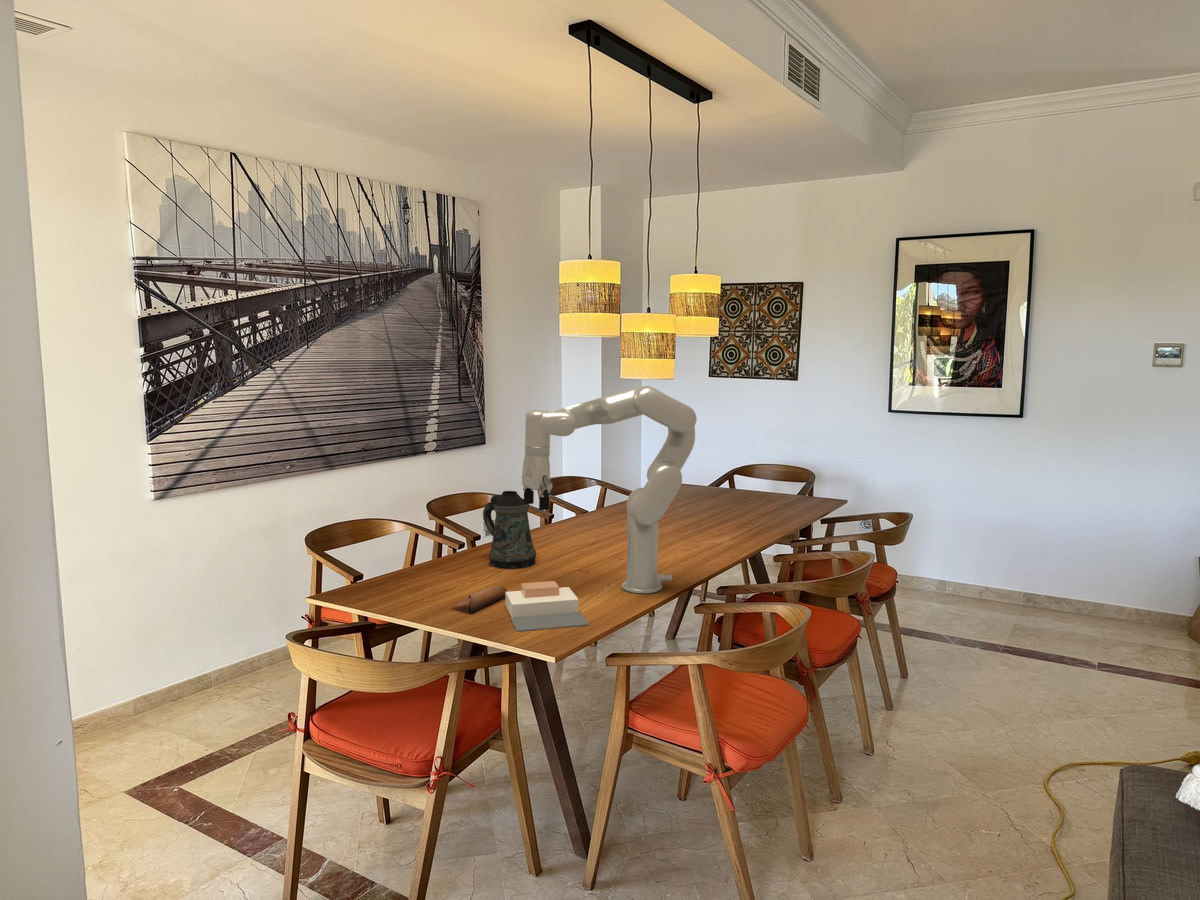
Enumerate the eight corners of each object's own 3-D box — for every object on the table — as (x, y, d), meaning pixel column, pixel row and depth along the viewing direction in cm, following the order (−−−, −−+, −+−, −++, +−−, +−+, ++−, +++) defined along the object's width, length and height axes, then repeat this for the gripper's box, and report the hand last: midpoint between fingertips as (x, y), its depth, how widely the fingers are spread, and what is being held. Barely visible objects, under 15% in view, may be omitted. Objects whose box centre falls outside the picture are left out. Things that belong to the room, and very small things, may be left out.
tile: (554, 589, 239) (554, 580, 239) (559, 595, 234) (559, 586, 233) (521, 591, 237) (521, 583, 236) (524, 598, 231) (524, 589, 231)
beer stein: (532, 570, 273) (532, 497, 270) (475, 568, 275) (474, 496, 271) (539, 557, 290) (539, 488, 286) (485, 555, 291) (484, 487, 288)
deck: (568, 600, 242) (568, 587, 242) (578, 612, 231) (578, 599, 230) (505, 605, 237) (505, 591, 237) (512, 618, 226) (512, 604, 225)
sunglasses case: (485, 592, 248) (494, 576, 246) (501, 607, 246) (510, 590, 243) (447, 609, 233) (456, 592, 230) (464, 625, 230) (474, 607, 228)
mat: (580, 613, 230) (580, 612, 230) (589, 625, 221) (589, 624, 221) (510, 619, 225) (510, 618, 225) (516, 631, 215) (516, 630, 215)
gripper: (513, 448, 251) (512, 502, 253) (540, 455, 236) (539, 513, 239) (534, 447, 255) (533, 500, 257) (562, 454, 240) (561, 511, 243)
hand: (536, 506), depth 248 cm, fingers open, 9 cm apart
